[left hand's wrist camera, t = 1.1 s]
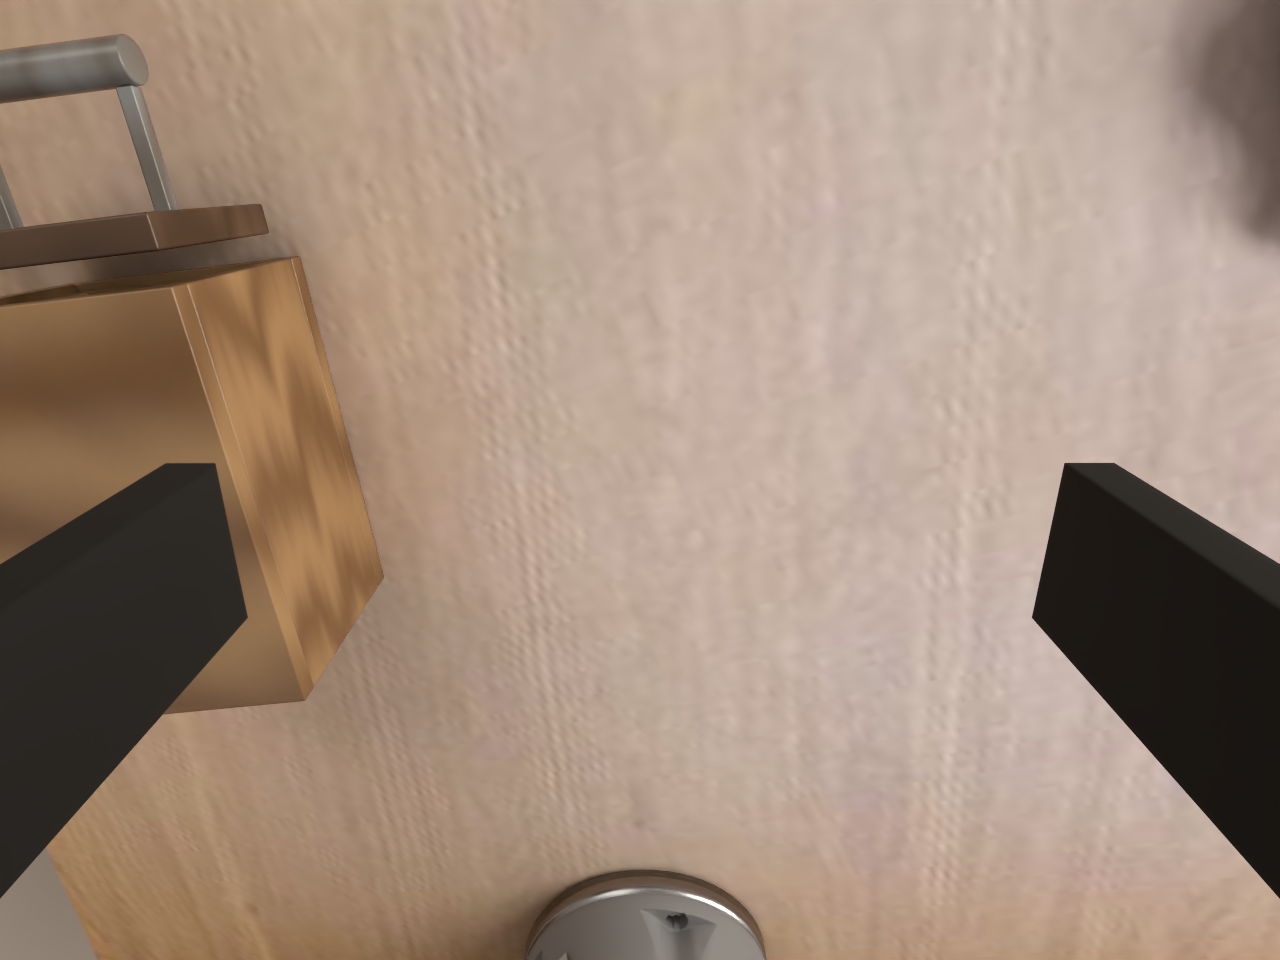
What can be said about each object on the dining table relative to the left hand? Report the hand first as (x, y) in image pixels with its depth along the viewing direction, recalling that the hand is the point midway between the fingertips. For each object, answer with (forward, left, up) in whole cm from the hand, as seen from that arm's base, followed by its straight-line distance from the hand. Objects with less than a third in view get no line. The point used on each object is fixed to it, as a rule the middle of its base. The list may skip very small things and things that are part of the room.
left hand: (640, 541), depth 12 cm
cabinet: (+8, -19, -24) cm, 32 cm away
